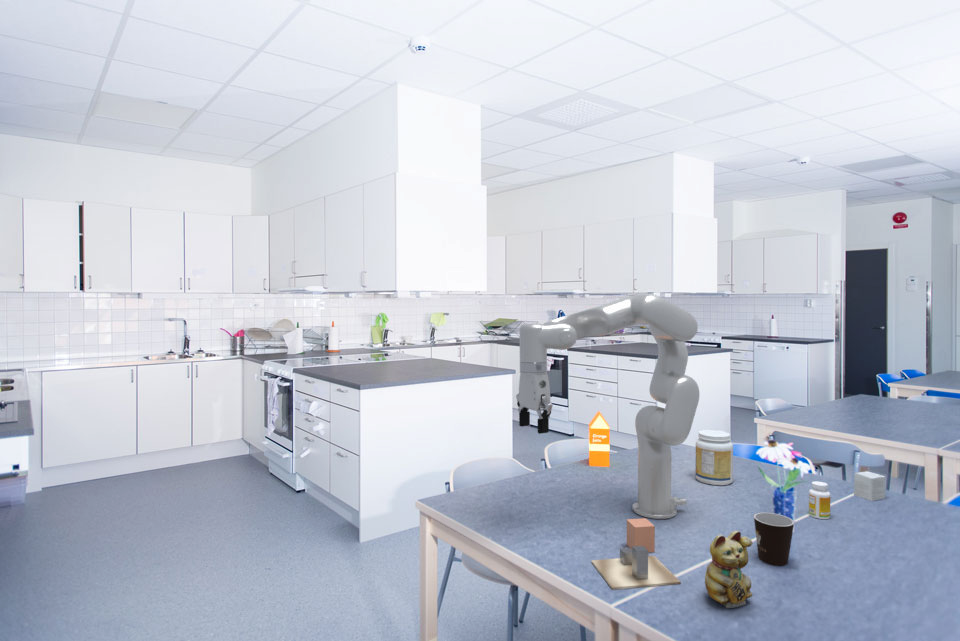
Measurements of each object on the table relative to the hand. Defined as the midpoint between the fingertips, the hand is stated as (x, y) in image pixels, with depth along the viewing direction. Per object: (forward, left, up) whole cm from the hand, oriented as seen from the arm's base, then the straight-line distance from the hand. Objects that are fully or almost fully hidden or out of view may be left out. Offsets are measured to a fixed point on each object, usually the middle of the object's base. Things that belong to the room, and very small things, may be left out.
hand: (533, 429), depth 156 cm
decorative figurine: (-30, +44, -28) cm, 60 cm away
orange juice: (-40, -56, -28) cm, 74 cm away
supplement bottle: (-84, +6, -28) cm, 89 cm away
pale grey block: (-112, -6, -28) cm, 116 cm away
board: (-16, +30, -27) cm, 44 cm away
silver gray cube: (-16, +26, -27) cm, 41 cm away
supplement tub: (-72, -29, -28) cm, 83 cm away
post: (-16, +33, -27) cm, 46 cm away
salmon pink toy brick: (-23, +18, -27) cm, 40 cm away
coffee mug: (-53, +28, -28) cm, 66 cm away
